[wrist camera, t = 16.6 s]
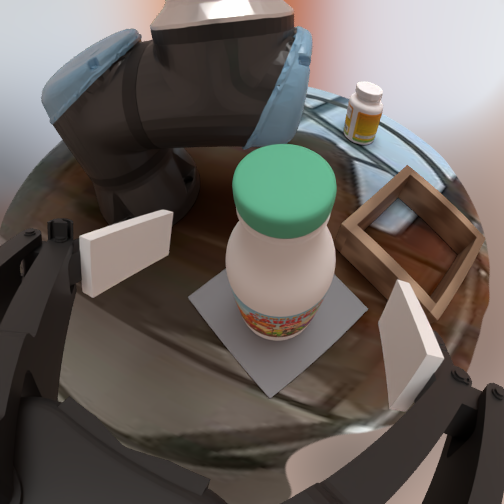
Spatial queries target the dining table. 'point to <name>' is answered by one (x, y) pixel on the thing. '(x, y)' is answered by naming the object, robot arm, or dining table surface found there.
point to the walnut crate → (435, 215)
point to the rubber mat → (270, 351)
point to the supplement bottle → (363, 113)
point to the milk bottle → (281, 239)
